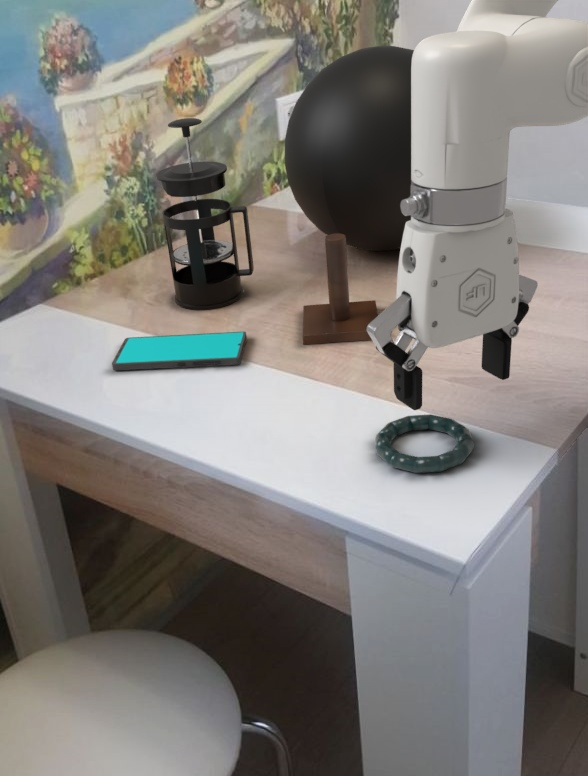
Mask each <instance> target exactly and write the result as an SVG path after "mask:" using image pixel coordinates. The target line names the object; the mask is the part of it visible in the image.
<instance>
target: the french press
mask: <svg viewBox="0 0 588 776" xmlns="http://www.w3.org/2000/svg"><path fill="white" fill-rule="evenodd" d="M202 122H203V120H202V119H200V118H196V117H186V118H179V119H176V120H175V119H174V120H172V121H171V122H169V123H168V124H167V127H169V128H171V129H172V128H173V129H181V134H182V137H183V138H185V143H186V144H185V145H186V151H187V159H188V162H185V163H181V164H175V165H171V166H169V167H165V168H163V169H161V170H160V171H158V172H157V173H156V177H155V178H156V179H157V181H159V182H160V183H161V186H162V188H163V191H164V192H165V193H166V195H168V196H169V197H174V198H189V197H190V198H191V197H193V199H192V200H190V199H189V200H186V201H182V202H179V203H175V204H172V205H170V206H168V207H167V208H165V209H164V210H163V211H162V218H163V225H164V226H163V227H164V231H165V238H166V245H167V250H168V256H169V263H170V269H171V275H172V280H173V281H172V282H173V288H174V293H175V294H174V301H175V304H176V305H177V306H179V307H181V308H183V309H187V310H193V311H194V310H195V311H204V310H213V309H219V308H223V307H226V306H230V305H231V304H234V303H236V302H237V301H239V300H240V299H241V298H243V295H244V292H245V291H244V287H243V285H242V281H241V277H246V276H248V277H250V276H252V275H253V272H254V268H255V267H254V257H253V249H252V240H251V239H252V238H251V232H250V231H251V230H250V223H249V214H248V213H249V211H248V208H247V206H245V205H240V206H239V205H238V206H232V203H231V202H230V201H227V200H226V199H220V198H200V199H198V196H199V197H200V196H203V195H208V194H211V193H215V192H218V191H220V190H222V189H223V188H225V186H226V177H225V174H226V172H227V171H228V166H227V165H226V164H225V163H223V162H218V161H192V154H191V153H192V152H191V146H190V140H189V137H191V129H190V127H195V126H197V125H200V124H202ZM212 210H221V211H223V212H219V213H218V214H214V215H213V214H212ZM192 211H195V215H196V218H193V219H178V218H172V217H174V216H177V215H180V214H183V213H186V212H192ZM237 213H241V214H242V217H243V225H244V235H245V244H246V252H247V262H248V267H249V268H245V269H244V268H242V269H240V264H239V257H238V247H237V237H236V231H235V223H234V215H233V214H237ZM227 222H229V226H230V227H229V228H230V236H231V242H229V241H227V240H219V239H216V238H215V230H214V227H218V226H220V225H223V224H225V223H227ZM171 230H175V231H176V230H177V231H184V232H185V237H186V243H187V244H186V243H185V244H183V245H181V246H178V247H177V248H175V249H174V248H173V241H172V234H171ZM232 256H233V261H234V263H233V262H228V261H225V260H227V259H230V258H231V257H232ZM176 264H178V265H181V266H184V267H182V268H180V269H178V270H177V265H176Z"/></svg>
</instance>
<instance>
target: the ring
mask: <svg viewBox="0 0 588 776" xmlns="http://www.w3.org/2000/svg"><path fill="white" fill-rule="evenodd" d="M420 430H432V431H436V432H442V433H446V434H448V435H449V436H451V437H452V438H453V439H455V440H456V443H457V444H456V445H455V446H454V447H453V448H452V450H449V451H447V452H444V453H440V454H438V455H430V456H429V455H428V456H427V455H426V456H415V455H411V454H406V453H402V452H400V451H398V450H397V449H395V448H394V447H393V446H392V441H393V440H394V439H395V438H396V437H397V436H400V435H402V434H405V433H407V432H410V431H420ZM374 441H375V442H374V443H375V451H376V454H377V456H378V457H379V458H380V459H381V460H383V461H384V462H385V463H387V464H388V465H389V466H390V467H392V468H393V469H394V468H395V469H398V470H402V471H407V472H411V473H416V474H421V473H439V472H444V471H446V470H449V469H452V468H453V467H456V466H458V465H461V464H463V463H464V462H465V460H466V459H467V458H468V457H469V456H470V454H471V453H472V452H473V451H474V448H475V444H474V440H473V435H472V434H471V431H470V429H469V428H467V427H466V426H464V425H463V424H462V423H460V422H458V421H457V420H456V419H453V418H450V417H446V416H440V415H435V414H432V413H431V414H415V415H406V416H404V417H401V418H398V419H395V420H393V421H390V422H388V423H387V424H385V425H384V427H383V428H382V429H380V431H379V432H378V433H377V434H376V435H375V438H374Z"/></svg>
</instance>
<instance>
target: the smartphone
mask: <svg viewBox="0 0 588 776" xmlns="http://www.w3.org/2000/svg"><path fill="white" fill-rule="evenodd" d="M247 338H248V337H247V332H246V331H229V332H228V331H227V332H209V333H208V332H207V333H195V334H194V333H192V334H174V335H173V334H172V335H151V336H132V337H131V336H130V337H126V338H124V340H123V342H122V344H121V345H120V347H119V349H118V351H117V353H116V355H115V357H114V358H113V360H112V362H111V367H112V370H113V371H126V370H127V371H128V370H129V371H130V370H150V369H169V368H171V369H172V368H191V367H211V366H212V367H213V366H214V367H215V366H234V365H239V364H241V361H242V359H243V354H244V350H245V347H246V343H247Z"/></svg>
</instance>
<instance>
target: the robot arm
mask: <svg viewBox="0 0 588 776" xmlns="http://www.w3.org/2000/svg"><path fill="white" fill-rule="evenodd" d="M557 2H559V0H471V1H470V2H469V4H468V6H467V8H466V9H465V12H464V14H463V17H462V18H461V20H460V23H459V24H458V27H457V29H456V31H449V32H441V33H438V34H432V35H430V36H427V37H425V38H424V39H422V40H420V41H419V43H417V45H415V47H414V49H413V50H414V52H413V55H412V63H411V196H410V197H409V198H407V199H403V200H402V201H401V203H400V208H401V212H402V214H403V215H404V216H409V215H411V220H410V221H407V222H406V224H405V228H404V233H403V237H402V243H401V248H399V249H400V251H399V256H398V263H397V264H398V266H397V275H396V292H395V293H396V294H395V295H396V296H395V300H394V301H393V302H392V303H391V304H389V305H388V306H387V307H386V308H385V309H384V310H383V311H381V312H380V313H379V314H378V316H377V317H376V318H375V319H374V320H373V321H371V322H370V323H369V324H368V326H367V332H368V334H369V336H370V337H371V339H372V340H371V341H372V342H373V344H374V345H375V349H376V350H377V351H378V352H379V353H380V354H382V355H383V356H384V357H386V358H387V360H389V361H390V362H392V363H393V393H394V396H395V398H396V399H397V400H398V401H400V402H401V403H403V404H404V406H407V407H408V408H410V409H411V410H413V411H417V410H420V409H421V408H422V407H423V369H422V368H421V367H419V366H418V364H419V362H420V360H421V359H422V357H423V356H424V354H425V353H426V351H427V350H428V348H429V349H440V348H444V347H448V346H451V345H454V344H457V343H461V342H463V341H467V340H470V339H473V338H476V337H479V336H482V345H481V346H482V348H481V349H482V350H481V369H482V371H485V372H486V373H488V374H490V375H492V376H494V377H496V378H498V379H499V380H501V381H505V380H508V379H509V378H510V375H511V374H510V373H511V372H510V371H511V358H512V357H511V356H512V344H513V343H512V342H513V340H512V339H515V338H516V337H517V336H518V334H519V332H520V327H519V325H520V324H521V323H522V321H523V320H524V318H525V317H526V315H528V312H529V310H530V305H529V303H531V302H532V300H533V297H534V295H535V293H536V290H537V288H538V286H539V285H538V281H537V280H535V279H533V278H530V277H528V276H525V275H522V274H520V260H519V259H520V257H519V244H518V243H519V242H518V234H517V227H516V223H515V222H516V221H515V218H514V214H513V211H512V210H510V209H508V208H506V206H507V189H508V188H507V185H508V168H509V152H510V150H509V149H510V132H512V130H513V129H516V128H522V127H523V128H525V127H526V128H527V127H559V126H564V125H565V126H566V125H569V124H573V123H577V122H579V121H581V120H583V119H584V118H587V117H588V22H587V21H585V20H580V19H574V18H563V17H547V15H548V14H549V12H550V11H551V10H552V9H553V7H554V6H555V5H556V4H557ZM396 327H397V330H398V332H399V333H398V335H397V336H396V338H395V339H394V340H393V338H392V332H393V330H394V329H396ZM413 340H414V342H413V343H412V344H411V342H412V341H413ZM409 345H411V346H410V347H409ZM408 347H409V349H408ZM407 349H408V351H407ZM406 351H407V352H406Z"/></svg>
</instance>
